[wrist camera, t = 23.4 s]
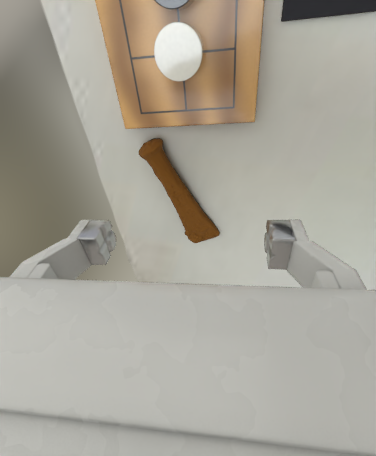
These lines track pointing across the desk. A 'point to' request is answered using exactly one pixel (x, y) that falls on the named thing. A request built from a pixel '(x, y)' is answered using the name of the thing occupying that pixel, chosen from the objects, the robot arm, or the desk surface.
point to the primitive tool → (178, 193)
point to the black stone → (175, 4)
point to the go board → (206, 74)
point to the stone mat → (324, 8)
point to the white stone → (179, 51)
